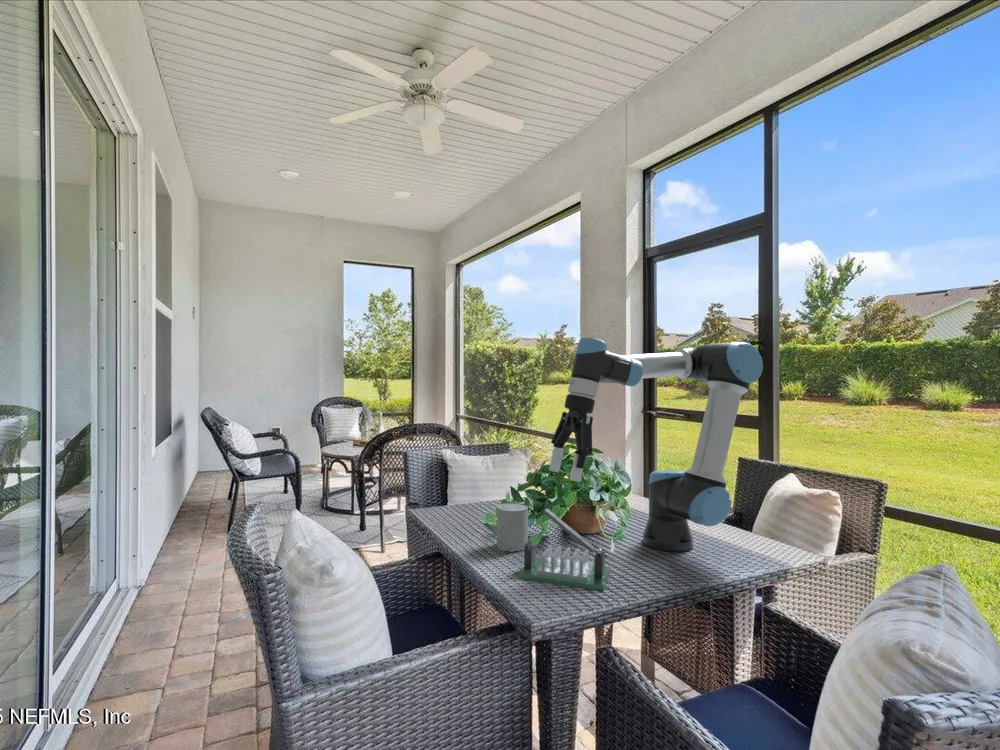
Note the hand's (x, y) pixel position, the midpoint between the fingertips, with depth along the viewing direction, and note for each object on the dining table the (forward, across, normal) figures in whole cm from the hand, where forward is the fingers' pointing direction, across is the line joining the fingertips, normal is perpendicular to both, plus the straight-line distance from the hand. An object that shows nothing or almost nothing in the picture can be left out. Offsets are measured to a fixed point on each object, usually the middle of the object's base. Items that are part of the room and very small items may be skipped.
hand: (563, 476), depth 135 cm
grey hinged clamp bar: (+15, -2, +6) cm, 16 cm away
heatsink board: (+26, -3, +8) cm, 27 cm away
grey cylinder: (+27, -28, +1) cm, 39 cm away
